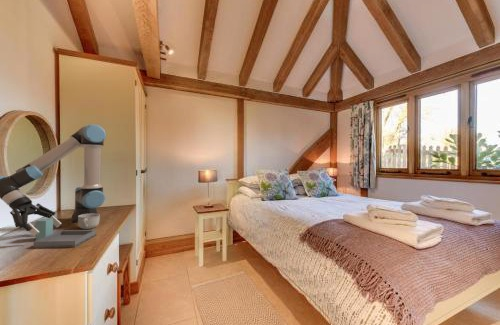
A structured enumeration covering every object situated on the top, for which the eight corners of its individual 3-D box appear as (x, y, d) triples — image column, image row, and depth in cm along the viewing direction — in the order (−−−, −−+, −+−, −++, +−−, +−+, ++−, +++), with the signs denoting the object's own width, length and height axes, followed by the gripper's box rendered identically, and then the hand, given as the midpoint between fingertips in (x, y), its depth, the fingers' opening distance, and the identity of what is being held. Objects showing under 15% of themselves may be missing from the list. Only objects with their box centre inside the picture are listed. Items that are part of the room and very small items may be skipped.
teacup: (84, 225, 131) (84, 212, 131) (103, 224, 133) (103, 212, 133) (69, 233, 117) (70, 219, 117) (91, 232, 119) (91, 218, 119)
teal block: (43, 237, 110) (43, 218, 110) (52, 237, 110) (53, 218, 110) (35, 240, 105) (36, 220, 105) (45, 240, 106) (45, 220, 106)
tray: (60, 235, 112) (61, 230, 112) (96, 235, 114) (96, 229, 114) (33, 247, 97) (33, 241, 97) (74, 247, 99) (75, 241, 98)
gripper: (34, 201, 119) (62, 227, 120) (-17, 211, 94) (19, 244, 95) (44, 192, 119) (72, 218, 121) (-4, 200, 94) (32, 232, 96)
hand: (48, 229), depth 108 cm, fingers open, 13 cm apart
